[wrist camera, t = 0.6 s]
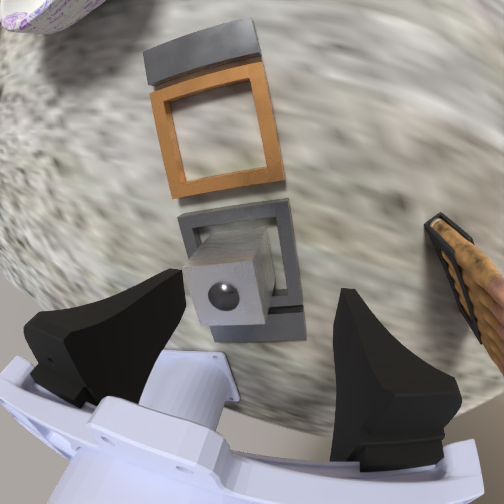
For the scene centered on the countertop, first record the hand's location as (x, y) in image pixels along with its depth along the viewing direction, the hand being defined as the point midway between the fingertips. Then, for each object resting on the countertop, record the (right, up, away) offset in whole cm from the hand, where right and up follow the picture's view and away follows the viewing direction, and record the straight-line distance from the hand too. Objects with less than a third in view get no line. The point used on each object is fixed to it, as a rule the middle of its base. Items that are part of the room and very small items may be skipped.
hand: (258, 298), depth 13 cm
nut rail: (-2, +6, +9) cm, 11 cm away
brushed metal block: (-1, +2, +11) cm, 11 cm away
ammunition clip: (+17, +1, +8) cm, 19 cm away
